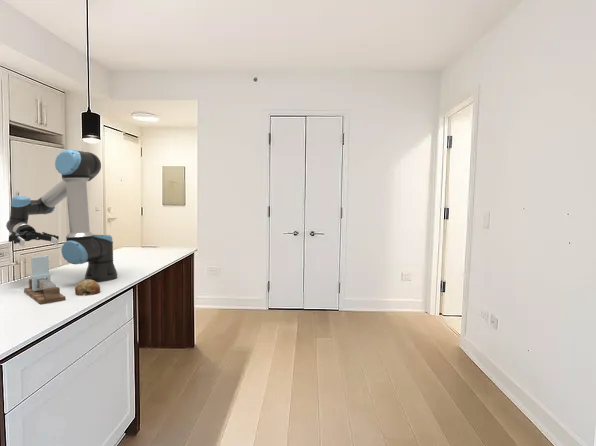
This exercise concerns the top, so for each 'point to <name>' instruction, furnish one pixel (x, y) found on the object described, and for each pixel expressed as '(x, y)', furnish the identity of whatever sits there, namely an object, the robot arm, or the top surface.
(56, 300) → the base board
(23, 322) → the top surface
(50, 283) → the grey square bar
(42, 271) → the slotted grey-blue plate
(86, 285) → the bread roll
